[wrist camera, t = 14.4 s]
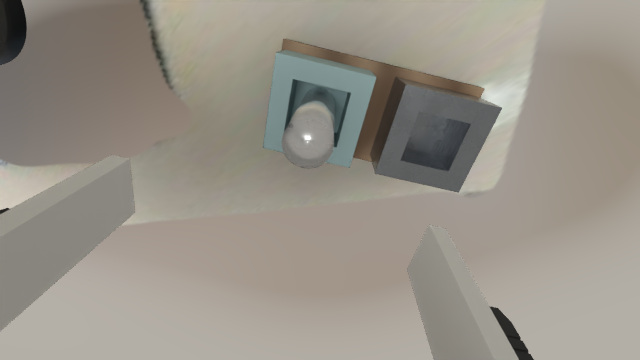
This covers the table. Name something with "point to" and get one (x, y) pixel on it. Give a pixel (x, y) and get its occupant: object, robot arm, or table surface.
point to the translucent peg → (311, 130)
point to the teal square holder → (311, 72)
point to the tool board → (378, 87)
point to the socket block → (431, 134)
